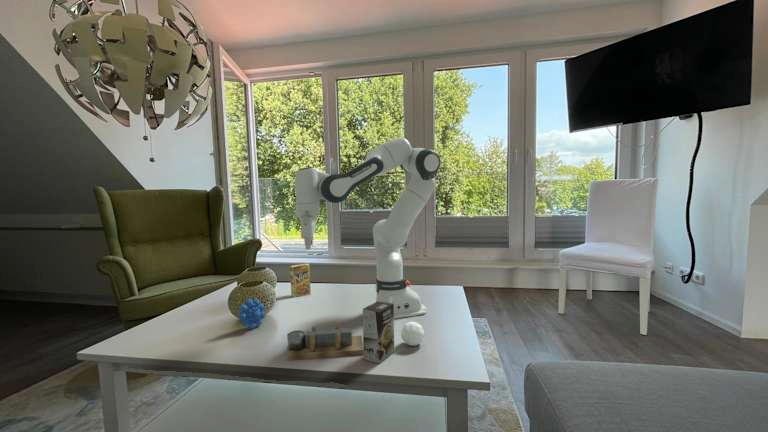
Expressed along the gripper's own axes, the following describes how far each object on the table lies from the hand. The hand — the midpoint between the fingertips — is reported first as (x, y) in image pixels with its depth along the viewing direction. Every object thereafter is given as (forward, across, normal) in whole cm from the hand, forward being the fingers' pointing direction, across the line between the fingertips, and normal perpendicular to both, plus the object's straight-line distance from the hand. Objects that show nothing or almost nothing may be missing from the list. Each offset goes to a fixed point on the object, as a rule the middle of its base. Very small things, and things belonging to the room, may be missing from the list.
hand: (309, 247), depth 134 cm
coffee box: (+31, -27, -23) cm, 47 cm away
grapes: (+31, +2, +22) cm, 38 cm away
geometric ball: (+31, -21, -35) cm, 51 cm away
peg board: (+31, -20, -6) cm, 37 cm away
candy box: (+31, +43, +9) cm, 54 cm away
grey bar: (+30, -20, -4) cm, 36 cm away
